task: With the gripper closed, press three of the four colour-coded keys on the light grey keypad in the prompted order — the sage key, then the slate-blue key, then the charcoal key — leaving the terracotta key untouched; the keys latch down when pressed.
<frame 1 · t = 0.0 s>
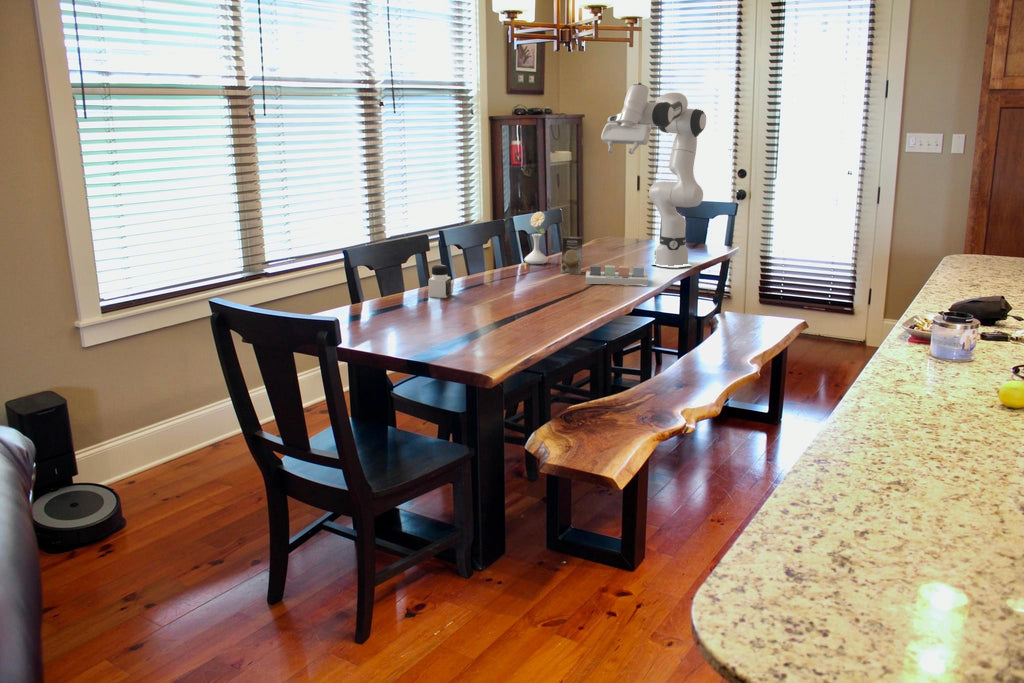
hand: (620, 152, 346), 54 cm above the table, tool tilted 30°, fingers open, 8 cm apart
key terracotta: (623, 271, 365), point 4 cm above the table, slide at 0.0 cm
coffee box: (571, 273, 386), on the table
flower in vase: (536, 264, 406), on the table
key slate: (638, 272, 365), point 4 cm above the table, slide at 0.0 cm
medicine bottle: (439, 296, 337), on the table
key charcoal: (595, 271, 367), point 4 cm above the table, slide at 0.0 cm
keypad: (616, 282, 367), on the table
key sage: (609, 271, 366), point 4 cm above the table, slide at 0.0 cm
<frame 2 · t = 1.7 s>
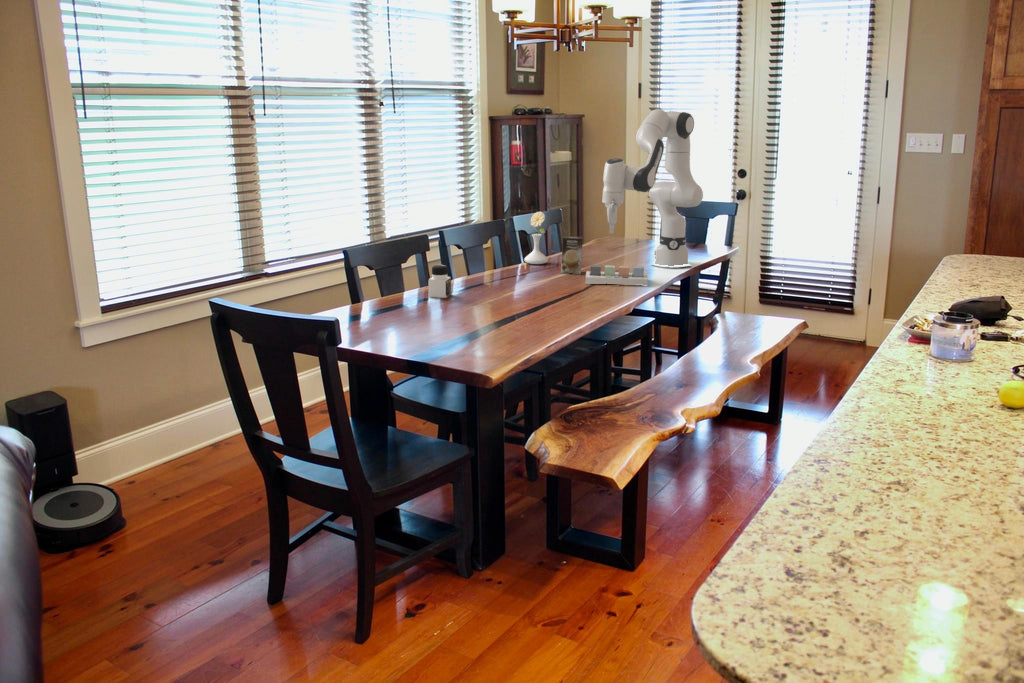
hand: (611, 231, 361), 21 cm above the table, tool pointing down, fingers open, 8 cm apart
nothing on the table moved.
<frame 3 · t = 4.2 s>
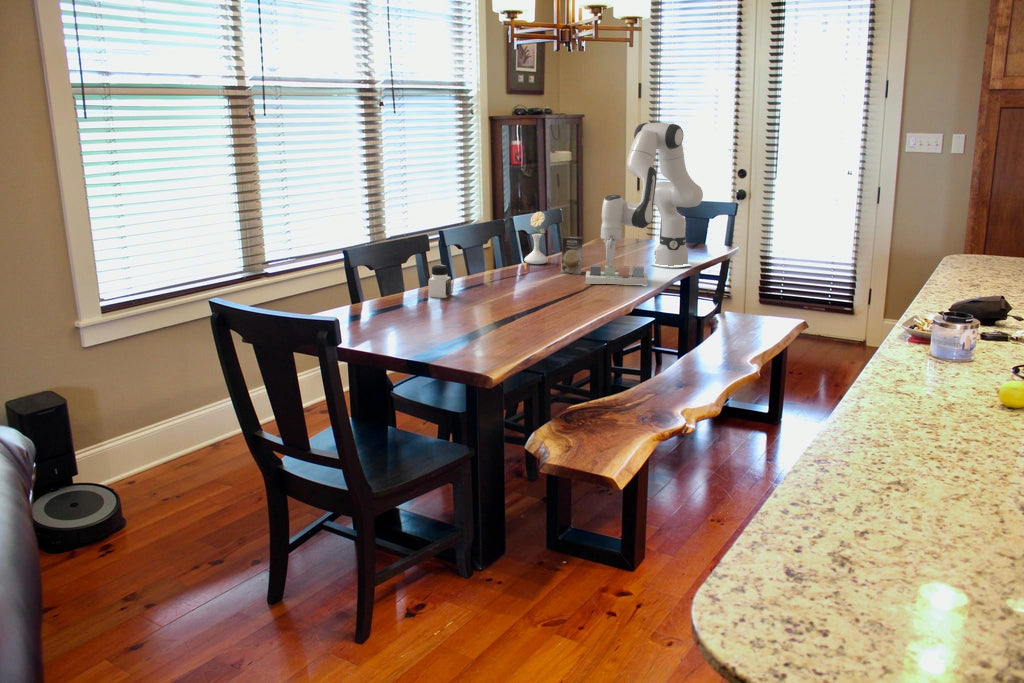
hand: (609, 266, 365), 7 cm above the table, tool pointing down, fingers closed, pressing on key sage
key sage: (609, 271, 366), point 4 cm above the table, slide at 0.2 cm, touching gripper
everything else where it was.
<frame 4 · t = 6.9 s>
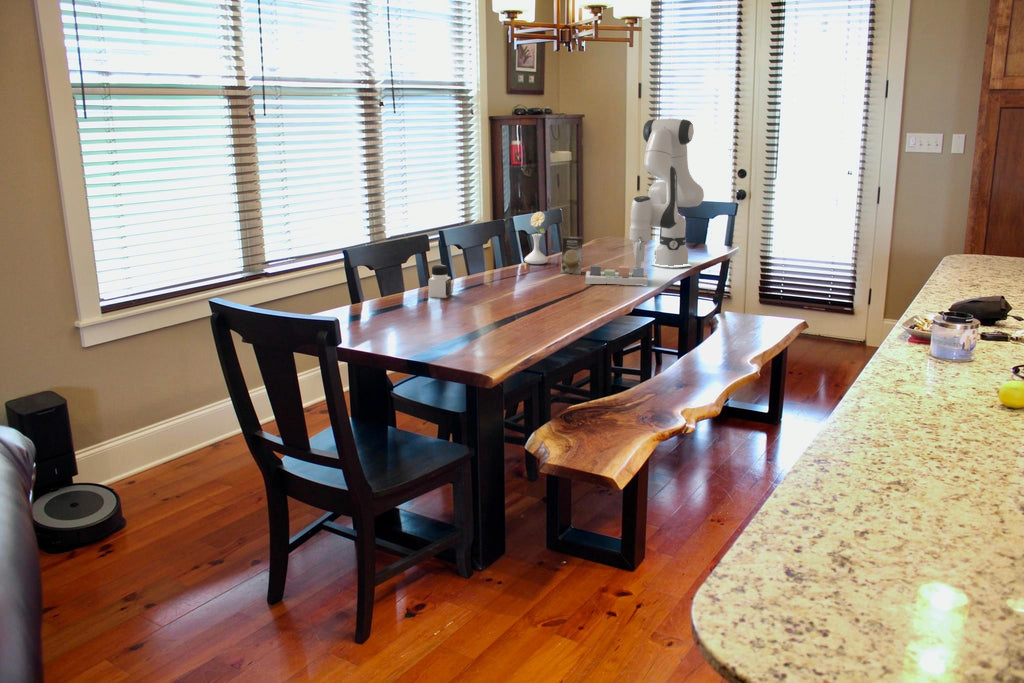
hand: (638, 268, 364), 6 cm above the table, tool pointing down, fingers closed, pressing on key slate
key slate: (638, 273, 365), point 4 cm above the table, slide at 0.5 cm, touching gripper
key sage: (609, 275, 367), point 3 cm above the table, slide at 1.7 cm
everything else where it was.
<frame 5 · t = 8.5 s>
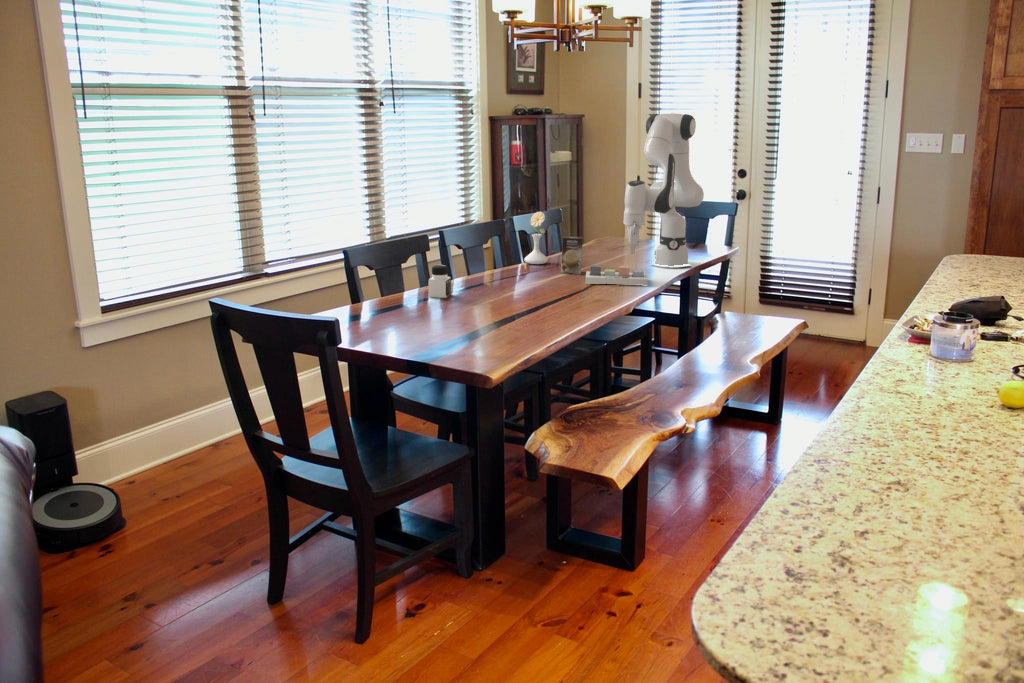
hand: (632, 253, 363), 13 cm above the table, tool pointing down, fingers closed
key slate: (637, 276, 365), point 3 cm above the table, slide at 1.7 cm
everything else where it was.
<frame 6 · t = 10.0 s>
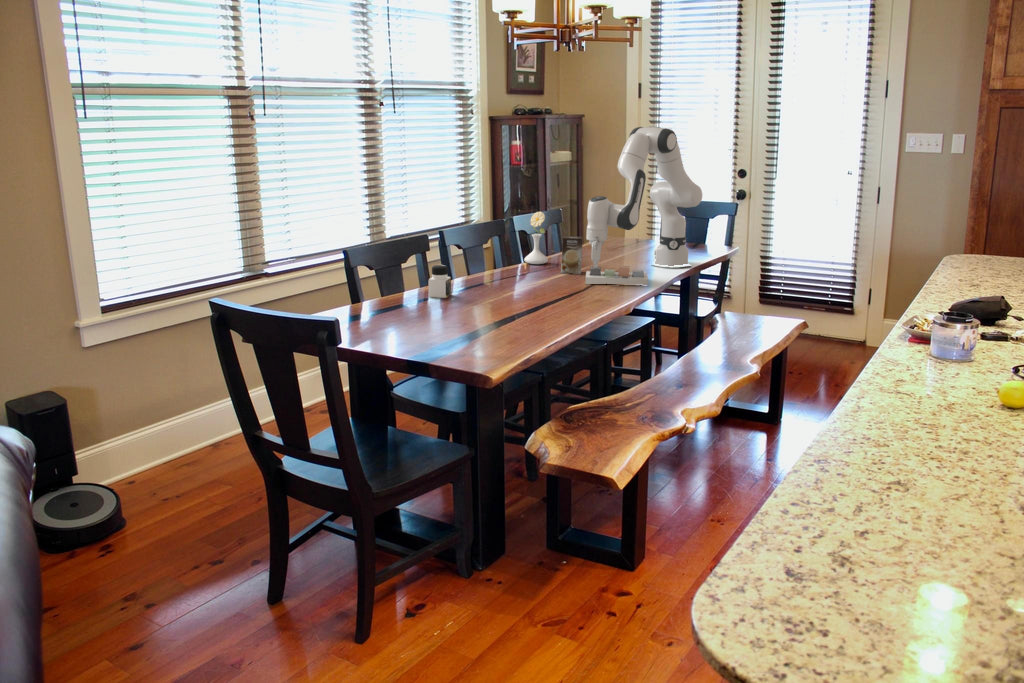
hand: (595, 267, 366), 6 cm above the table, tool pointing down, fingers closed, pressing on key charcoal
key charcoal: (595, 273, 367), point 4 cm above the table, slide at 0.9 cm, touching gripper
everything else where it was.
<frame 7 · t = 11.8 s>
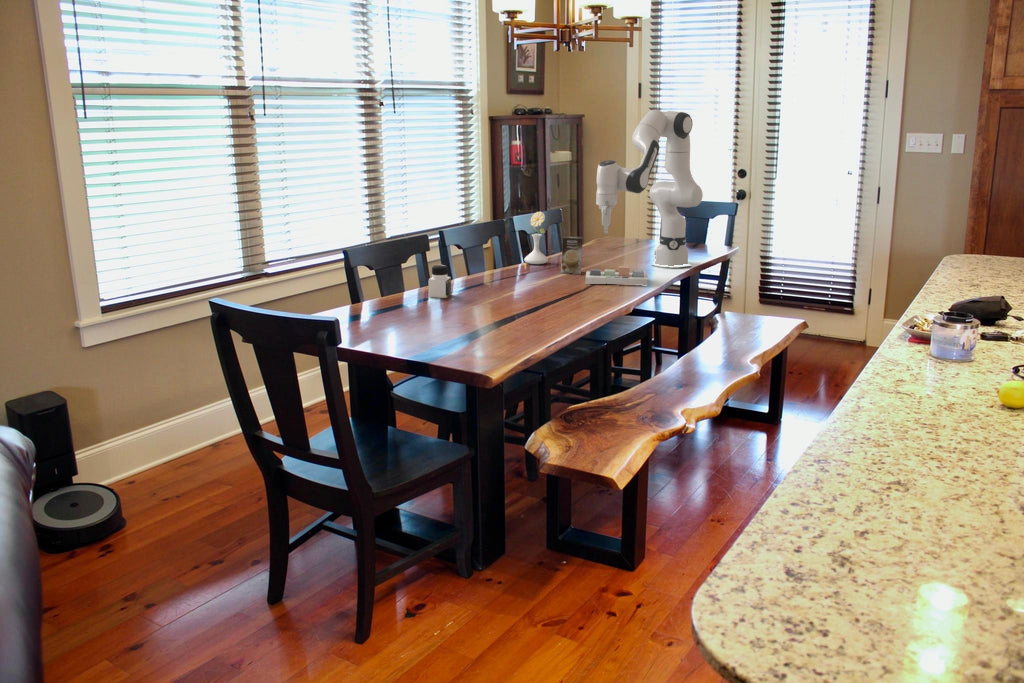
hand: (606, 232, 365), 20 cm above the table, tool pointing down, fingers closed
key charcoal: (595, 274, 367), point 3 cm above the table, slide at 1.7 cm
everything else where it was.
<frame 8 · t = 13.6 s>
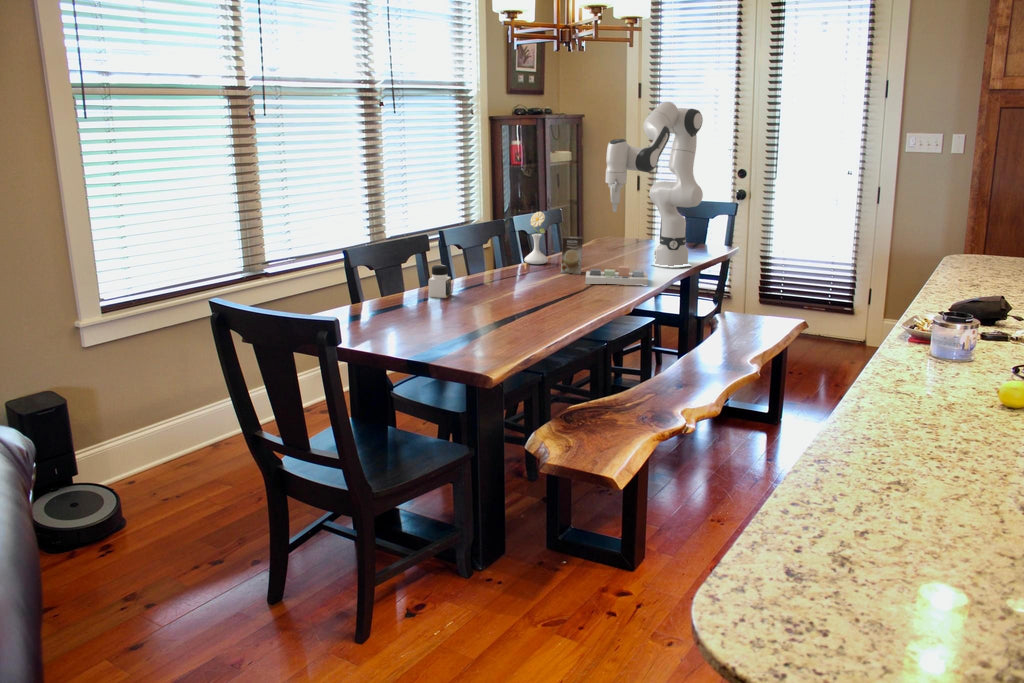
hand: (614, 211, 365), 29 cm above the table, tool pointing down, fingers closed
nothing on the table moved.
at the end: key sage slide at 1.7 cm; key slate slide at 1.7 cm; key charcoal slide at 1.7 cm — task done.
